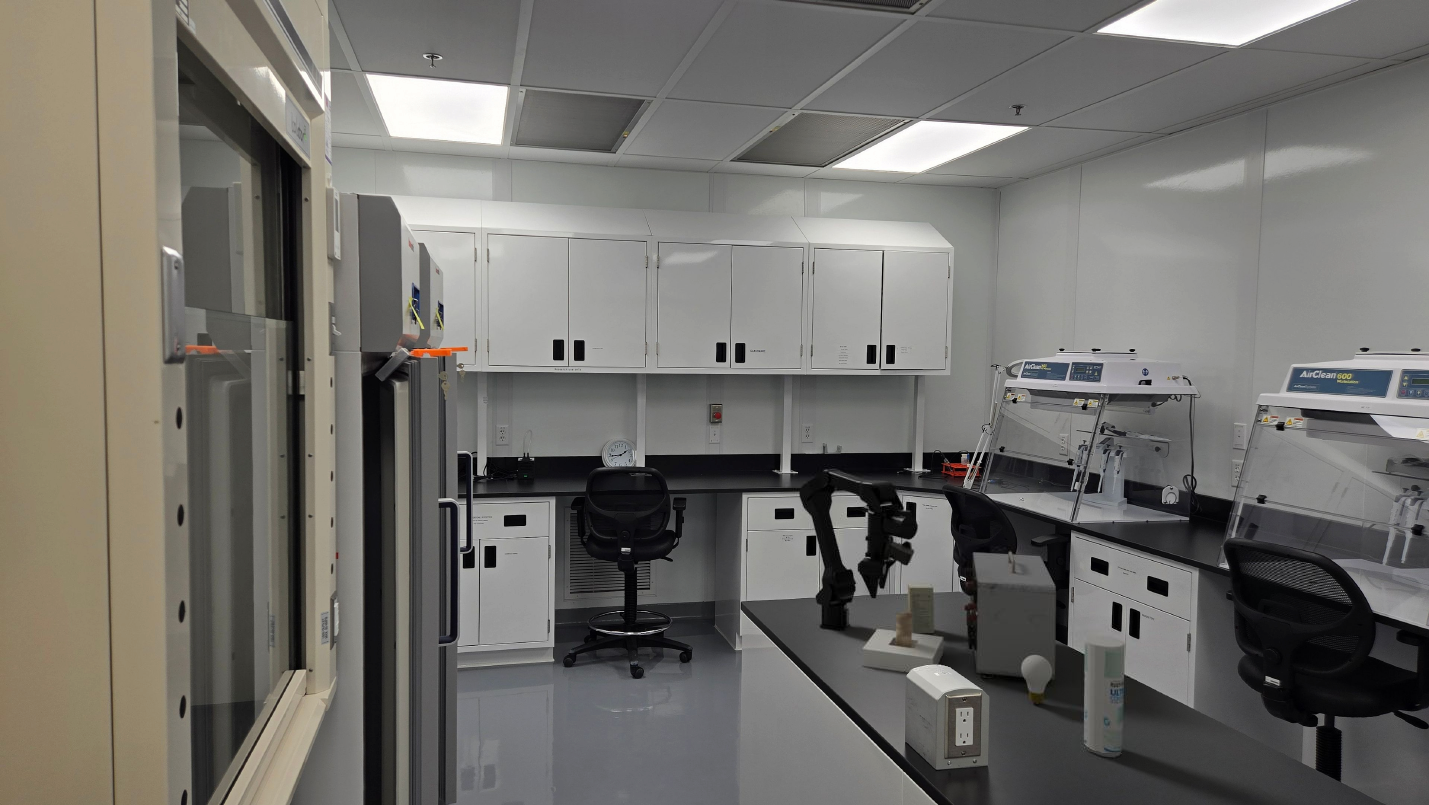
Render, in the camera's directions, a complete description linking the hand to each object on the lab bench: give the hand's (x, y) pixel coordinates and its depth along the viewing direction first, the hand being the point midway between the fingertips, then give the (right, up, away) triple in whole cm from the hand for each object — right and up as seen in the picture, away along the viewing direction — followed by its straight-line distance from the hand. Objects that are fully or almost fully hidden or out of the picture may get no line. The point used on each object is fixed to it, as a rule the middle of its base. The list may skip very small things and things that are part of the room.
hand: (878, 593), depth 205 cm
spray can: (+29, -15, -57) cm, 66 cm away
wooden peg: (+4, -12, -11) cm, 17 cm away
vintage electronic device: (+28, -13, -11) cm, 33 cm away
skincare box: (+13, -13, +10) cm, 21 cm away
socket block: (+4, -13, -11) cm, 18 cm away
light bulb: (+25, -14, -37) cm, 47 cm away
